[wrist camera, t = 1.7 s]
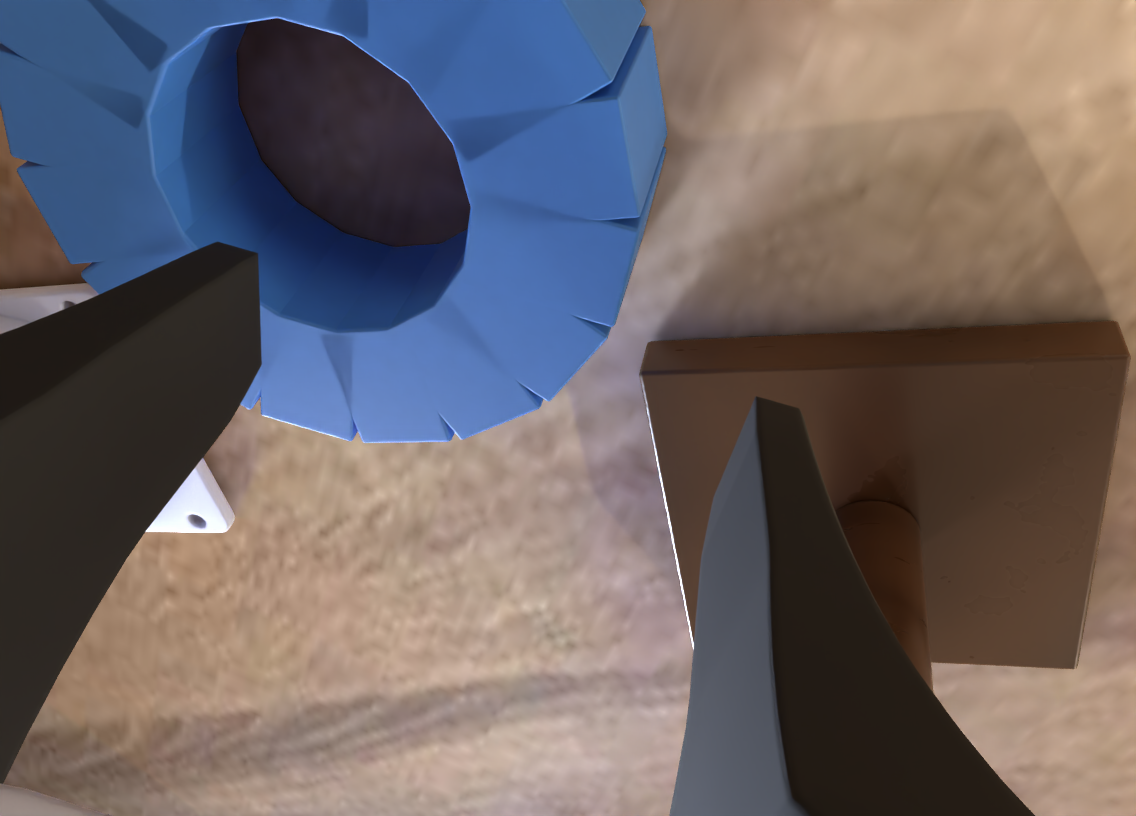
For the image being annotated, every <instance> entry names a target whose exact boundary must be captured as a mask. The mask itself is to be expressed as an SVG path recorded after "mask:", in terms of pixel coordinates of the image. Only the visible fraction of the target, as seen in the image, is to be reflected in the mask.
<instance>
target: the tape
mask: <svg viewBox="0 0 1136 816" xmlns="http://www.w3.org/2000/svg"><path fill="white" fill-rule="evenodd" d="M645 13H646V11H645V8H644V7H643V5H642V3H641V1H640V0H0V107H1V111H2V116H3V121H4V125H5V130H6V135H7V139H8V144H9V149H10V153H11V155H12V156H13V157H16V158H19V159H23V160H27V162H26V163H24V164H23V165H21V166H20V167H18V168H17V172H18V174H19V176H20V177H21V179H22V181H23V183H24V184H25V186H26V188H27V190H28V191H29V193H30V195H31V197H32V198H33V200H34V202H35V204H36V205H37V207H38V209H39V210H40V212H41V214H42V216H43V217H44V219H45V221H46V223H47V224H48V226H49V228H50V230H51V231H52V233H53V235H54V237H55V238H56V240H57V242H58V243H59V245H60V247H61V249H62V250H63V252H64V254H65V256H66V257H67V259H68V261H69V262H70V263H71V264H79V263H91V262H92V263H91V264H90V265H89V266H88V267H86V268H85V269H84V270H83V271H82V273H81V276H82V278H83V279H84V280H85V281H86V282H87V283H88V284H89V285H90V286H91V287H92V288H93V289H94V290H95V291H96V292H97V293H98V294H102V293H104V292H106V291H108V290H110V289H113V288H115V287H117V286H119V285H121V284H124V283H126V282H128V281H130V280H132V279H135V278H137V277H139V276H141V275H143V274H146V273H148V272H150V271H152V270H154V269H156V268H158V267H161V266H163V265H165V264H167V263H169V262H171V261H173V260H176V259H178V258H180V257H182V256H184V255H186V254H189V253H191V252H193V251H195V250H198V249H200V248H202V247H205V246H207V245H210V244H212V243H215V242H217V241H218V242H221V243H225V244H228V245H232V246H235V247H239V248H242V249H246V250H249V251H253V252H256V253H258V264H259V295H260V325H261V356H262V365H261V367H260V369H259V371H258V373H257V374H256V376H255V378H254V380H253V382H252V384H251V386H250V387H249V389H248V391H247V393H246V395H245V397H244V398H243V400H242V402H241V405H242V406H244V407H246V408H247V409H251V408H253V406H254V405H255V404H256V402H257V401H258V400H259V398H260V397H261V414H262V415H263V416H266V417H269V418H273V419H276V420H280V421H283V422H286V423H290V424H293V425H297V426H300V427H303V428H307V429H310V430H314V431H317V432H321V433H324V434H327V435H331V436H334V437H338V438H341V439H344V440H348V441H352V440H353V438H354V436H355V435H356V433H357V431H358V432H359V435H360V437H361V439H362V441H363V442H364V443H387V442H448V441H451V440H452V437H453V435H454V433H456V434H457V435H458V436H459V438H460V439H465V438H467V437H470V436H472V435H475V434H477V433H480V432H482V431H485V430H487V429H490V428H492V427H495V426H497V425H500V424H502V423H504V422H507V421H509V420H512V419H514V418H517V417H519V416H522V415H524V414H527V413H529V412H532V411H534V410H537V409H539V408H540V407H541V404H542V401H543V399H545V400H546V401H550V400H552V398H553V397H554V396H555V395H556V394H557V393H558V392H559V391H560V390H561V389H562V388H563V386H564V385H565V384H566V383H567V382H568V381H569V380H570V379H571V378H572V377H573V375H574V374H575V373H576V372H577V371H578V370H579V369H580V368H581V367H582V366H583V364H584V363H585V362H586V361H587V360H588V359H589V358H590V357H591V356H592V355H593V354H594V352H595V351H596V350H597V349H598V348H599V347H600V346H601V345H602V344H603V343H604V341H605V340H606V339H607V338H608V335H609V332H610V329H611V327H613V326H614V325H615V323H616V320H617V316H618V313H619V310H620V307H621V304H622V301H623V297H624V294H625V291H626V288H627V285H628V282H629V278H630V275H631V272H632V269H633V266H634V263H635V259H636V256H637V253H638V250H639V247H640V244H641V240H642V237H643V234H644V230H645V226H646V223H647V219H648V215H649V212H650V208H651V204H652V201H653V197H654V194H655V190H656V186H657V183H658V179H659V175H660V172H661V168H662V164H663V161H664V157H665V153H666V148H665V147H663V145H664V142H665V139H666V136H667V128H666V121H665V114H664V107H663V101H662V94H661V87H660V80H659V73H658V67H657V60H656V53H655V46H654V40H653V33H652V28H651V26H643V27H639V25H640V23H641V21H642V19H643V17H644V15H645ZM274 18H278V19H282V20H286V21H289V22H293V23H297V24H300V25H304V26H308V27H311V28H315V29H319V30H322V31H326V32H330V33H333V34H337V35H340V36H344V37H345V38H346V39H348V40H349V41H351V42H352V43H353V44H355V45H356V46H358V47H359V48H360V49H362V50H363V51H365V52H366V53H367V54H369V55H370V56H372V57H373V58H375V59H376V60H377V61H379V62H380V63H382V64H383V65H384V66H386V67H387V68H389V69H390V70H391V71H393V72H394V73H396V74H397V75H398V76H400V77H401V78H403V79H404V80H405V81H407V82H408V83H409V84H410V86H411V87H412V88H413V90H414V91H415V93H416V94H417V95H418V97H419V98H420V99H421V101H422V102H423V104H424V105H425V106H426V108H427V109H428V110H429V112H430V113H431V115H432V116H433V117H434V119H435V120H436V121H437V123H438V124H439V126H440V127H441V128H442V130H443V131H444V133H445V134H446V135H447V137H448V138H449V139H450V141H451V142H452V144H453V147H454V150H455V154H456V157H457V161H458V164H459V168H460V171H461V175H462V178H463V182H464V185H465V189H466V192H467V196H468V199H469V203H470V206H471V208H470V216H469V223H468V229H466V230H465V231H463V232H461V233H459V234H457V235H455V236H454V237H452V238H450V239H448V240H446V241H444V242H443V243H441V244H428V245H415V246H403V247H392V246H389V245H385V244H382V243H378V242H375V241H371V240H367V239H364V238H360V237H357V236H353V235H350V234H346V233H343V232H342V231H340V230H339V229H337V228H335V227H334V226H332V225H331V224H329V223H328V222H326V221H325V220H323V219H322V218H320V217H319V216H317V215H316V214H314V213H313V212H311V211H310V210H308V209H307V208H305V207H304V206H302V205H301V204H299V203H298V202H296V201H295V200H294V198H293V197H292V196H291V195H290V194H289V192H288V191H287V190H286V189H285V188H284V186H283V185H282V184H281V183H280V182H279V180H278V179H277V178H276V177H275V176H274V174H273V173H272V172H271V171H270V170H269V168H268V167H267V166H266V165H265V164H264V162H263V161H262V160H261V158H260V155H259V153H258V150H257V148H256V145H255V143H254V141H253V138H252V136H251V133H250V131H249V128H248V126H247V124H246V121H245V119H244V116H243V114H242V112H241V109H240V107H239V100H238V76H237V52H236V51H237V48H238V46H239V43H240V41H241V39H242V36H243V34H244V31H245V29H246V26H247V24H248V23H249V22H256V21H262V20H268V19H274Z"/></svg>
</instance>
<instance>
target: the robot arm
mask: <svg viewBox="0 0 1136 816" xmlns="http://www.w3.org/2000/svg"><path fill="white" fill-rule="evenodd" d="M74 303H75V304H76V305H75V304H74ZM261 365H262V356H261V325H260V295H259V264H258V253H256V252H253V251H249V250H246V249H242V248H239V247H235V246H232V245H228V244H225V243H221V242H218V241H217V242H215V243H212V244H210V245H207V246H205V247H202V248H200V249H198V250H195V251H193V252H191V253H189V254H186V255H184V256H182V257H180V258H178V259H176V260H173V261H171V262H169V263H167V264H165V265H163V266H161V267H158V268H156V269H154V270H152V271H150V272H148V273H146V274H143V275H141V276H139V277H137V278H135V279H132V280H130V281H128V282H126V283H124V284H121V285H119V286H117V287H115V288H113V289H110V290H108V291H106V292H104V293H102V294H98V293H97V292H96V291H95V290H94V289H93V288H92V287H91V286H90V285H89V284H88V283H81V284H68V285H55V286H41V287H28V288H15V289H2V290H0V816H112V815H109V814H105V813H102V812H99V811H96V810H93V809H90V808H86V807H83V806H80V805H77V804H74V803H71V802H67V801H64V800H61V799H58V798H55V797H52V796H48V795H45V794H42V793H39V792H36V791H33V790H29V789H26V788H22V787H17V786H11V785H6V784H3V782H4V780H5V778H6V776H7V774H8V772H9V770H10V768H11V766H12V764H13V762H14V760H15V758H16V756H17V754H18V752H19V750H20V748H21V746H22V744H23V742H24V740H25V738H26V736H27V734H28V732H29V730H30V728H31V726H32V724H33V722H34V720H35V719H36V717H37V715H38V713H39V711H40V709H41V707H42V705H43V703H44V702H45V700H46V698H47V696H48V694H49V692H50V690H51V688H52V686H53V685H54V683H55V681H56V679H57V677H58V675H59V673H60V671H61V669H62V668H63V666H64V664H65V662H66V661H67V659H68V657H69V655H70V654H71V652H72V650H73V648H74V647H75V645H76V643H77V641H78V640H79V638H80V636H81V634H82V633H83V631H84V629H85V627H86V626H87V624H88V622H89V620H90V619H91V617H92V615H93V613H94V612H95V610H96V608H97V607H98V605H99V603H100V602H101V600H102V598H103V597H104V595H105V593H106V592H107V590H108V588H109V587H110V585H111V583H112V582H113V580H114V579H115V577H116V575H117V574H118V572H119V570H120V569H121V567H122V565H123V564H124V562H125V560H126V559H127V557H128V556H129V554H130V553H131V552H132V550H133V549H134V547H135V546H136V544H137V543H138V542H139V540H140V539H141V537H142V536H143V534H144V533H145V532H146V531H147V532H215V533H221V532H226V531H227V530H228V529H229V528H230V527H231V525H232V524H233V522H234V520H235V516H234V512H233V511H232V509H231V507H230V505H229V503H228V502H227V500H226V498H225V496H224V494H223V493H222V491H221V489H220V487H219V486H218V484H217V482H216V480H215V478H214V477H213V475H212V473H211V471H210V469H209V468H208V466H207V464H206V462H205V460H204V459H203V457H204V455H205V454H206V453H207V451H208V450H209V449H210V447H211V446H212V445H213V443H214V442H215V441H216V439H217V438H218V437H219V436H220V434H221V433H222V431H223V430H224V429H225V427H226V426H227V425H228V423H229V422H230V421H231V419H232V417H233V416H234V414H235V412H236V410H237V409H238V407H239V405H240V404H241V402H242V400H243V398H244V397H245V395H246V393H247V391H248V389H249V387H250V386H251V384H252V382H253V380H254V378H255V376H256V374H257V373H258V371H259V369H260V367H261ZM669 816H1035V815H1034V814H1033V813H1032V812H1031V811H1030V810H1029V809H1028V808H1027V807H1026V806H1025V804H1024V803H1023V802H1022V801H1021V800H1020V799H1019V798H1018V797H1017V796H1016V795H1015V794H1014V793H1013V792H1012V791H1011V789H1010V788H1009V787H1008V786H1007V785H1006V784H1005V783H1004V782H1003V781H1002V780H1001V779H1000V777H999V776H998V775H997V774H996V773H995V772H994V770H993V769H992V768H991V767H990V765H989V764H988V763H987V762H986V761H985V759H984V758H983V757H982V756H981V755H980V753H979V752H978V751H977V750H976V748H975V747H974V746H973V745H972V744H971V742H970V741H969V740H968V739H967V738H966V736H965V735H964V734H963V733H962V731H961V730H960V729H959V727H958V726H957V725H956V723H955V722H954V721H953V719H952V718H951V717H950V716H949V714H948V713H947V712H946V710H945V709H944V707H943V706H942V704H941V703H940V702H939V700H938V699H937V697H936V696H935V695H934V693H933V692H932V690H931V689H930V688H929V686H928V685H927V683H926V682H925V680H924V679H923V678H922V676H921V675H920V673H919V672H918V671H917V669H916V668H915V666H914V665H913V663H912V662H911V660H910V659H909V657H908V655H907V654H906V652H905V651H904V649H903V647H902V646H901V644H900V643H899V641H898V639H897V638H896V636H895V634H894V632H893V631H892V629H891V627H890V625H889V624H888V622H887V620H886V619H885V617H884V615H883V613H882V611H881V610H880V608H879V606H878V604H877V602H876V600H875V598H874V596H873V594H872V592H871V591H870V589H869V587H868V585H867V583H866V581H865V578H864V576H863V574H862V572H861V570H860V568H859V566H858V564H857V562H856V560H855V557H854V555H853V553H852V551H851V549H850V546H849V544H848V542H847V539H846V537H845V535H844V532H843V530H842V527H841V525H840V522H839V520H838V517H837V515H836V512H835V510H834V507H833V505H832V502H831V500H830V497H829V494H828V492H827V489H826V486H825V483H824V481H823V478H822V475H821V472H820V469H819V466H818V463H817V460H816V457H815V454H814V451H813V447H812V444H811V441H810V437H809V434H808V430H807V427H806V423H805V420H804V416H803V415H802V413H801V411H800V409H799V408H796V407H793V406H789V405H786V404H782V403H779V402H775V401H772V400H768V399H765V398H761V397H758V396H756V397H755V399H754V401H753V404H752V406H751V409H750V411H749V413H748V416H747V418H746V421H745V423H744V425H743V428H742V430H741V433H740V435H739V437H738V440H737V442H736V445H735V447H734V449H733V452H732V454H731V457H730V459H729V461H728V464H727V466H726V469H725V471H724V473H723V476H722V478H721V481H720V483H719V485H718V488H717V490H716V493H715V495H714V498H713V503H712V508H711V512H710V517H709V522H708V526H707V531H706V536H705V541H704V546H703V551H702V556H701V564H700V575H699V587H698V599H697V612H696V624H695V637H694V650H693V663H692V675H691V688H690V699H689V707H688V715H687V723H686V730H685V735H684V741H683V746H682V752H681V757H680V762H679V768H678V773H677V779H676V784H675V790H674V795H673V800H672V805H671V810H670V815H669Z"/></svg>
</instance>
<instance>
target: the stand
mask: <svg viewBox="0 0 1136 816" xmlns="http://www.w3.org/2000/svg"><path fill="white" fill-rule="evenodd" d="M1130 359H1131V356H1130V353H1129V351H1128V348H1127V345H1126V343H1125V340H1124V337H1123V335H1122V332H1121V329H1120V327H1119V324H1118V322H1116V321H1095V322H1072V323H1050V324H1028V325H1006V326H983V327H961V328H939V329H917V330H894V331H872V332H850V333H828V334H805V335H783V336H761V337H739V338H716V339H694V340H672V341H651V342H648V344H647V347H646V351H645V354H644V358H643V362H642V366H641V370H640V373H639V376H640V381H641V386H642V391H643V396H644V401H645V406H646V411H647V416H648V422H649V427H650V432H651V437H652V442H653V447H654V452H655V457H656V463H657V468H658V473H659V478H660V483H661V488H662V493H663V498H664V503H665V509H666V514H667V519H668V524H669V529H670V534H671V539H672V544H673V550H674V555H675V560H676V565H677V570H678V575H679V580H680V585H681V590H682V596H683V601H684V606H685V611H686V616H687V621H688V626H689V631H690V637H691V642H692V647H693V649H694V637H695V624H696V612H697V599H698V587H699V575H700V564H701V556H702V551H703V546H704V541H705V536H706V531H707V526H708V522H709V517H710V512H711V508H712V503H713V498H714V495H715V493H716V490H717V488H718V485H719V483H720V481H721V478H722V476H723V473H724V471H725V469H726V466H727V464H728V461H729V459H730V457H731V454H732V452H733V449H734V447H735V445H736V442H737V440H738V437H739V435H740V433H741V430H742V428H743V425H744V423H745V421H746V418H747V416H748V413H749V411H750V409H751V406H752V404H753V401H754V399H755V397H756V396H758V397H761V398H765V399H768V400H772V401H775V402H779V403H782V404H786V405H789V406H793V407H796V408H799V409H800V411H801V413H802V415H803V416H804V420H805V423H806V427H807V430H808V434H809V437H810V441H811V444H812V447H813V451H814V454H815V457H816V460H817V463H818V466H819V469H820V472H821V475H822V478H823V481H824V483H825V486H826V489H827V492H828V494H829V497H830V500H831V502H832V505H833V507H834V510H835V512H836V515H837V517H838V520H839V522H840V525H841V527H842V530H843V532H844V535H845V537H846V539H847V542H848V544H849V546H850V549H851V551H852V553H853V555H854V557H855V560H856V562H857V564H858V566H859V568H860V570H861V572H862V574H863V576H864V578H865V581H866V583H867V585H868V587H869V589H870V591H871V592H872V594H873V596H874V598H875V600H876V602H877V604H878V606H879V608H880V610H881V611H882V613H883V615H884V617H885V619H886V620H887V622H888V624H889V625H890V627H891V629H892V631H893V632H894V634H895V636H896V638H897V639H898V641H899V643H900V644H901V646H902V647H903V649H904V651H905V652H906V654H907V655H908V657H909V659H910V660H911V662H912V663H913V665H914V666H915V668H916V669H917V671H918V672H919V673H920V675H921V676H922V678H923V679H924V680H925V682H926V683H927V685H928V686H929V688H930V689H931V690H932V692H933V682H932V669H931V662H933V663H954V664H975V665H995V666H1016V667H1037V668H1058V669H1076V668H1077V666H1078V661H1079V655H1080V650H1081V644H1082V638H1083V632H1084V626H1085V621H1086V615H1087V609H1088V603H1089V597H1090V592H1091V586H1092V580H1093V574H1094V568H1095V563H1096V557H1097V551H1098V545H1099V539H1100V534H1101V528H1102V522H1103V516H1104V510H1105V505H1106V499H1107V493H1108V487H1109V481H1110V475H1111V470H1112V464H1113V458H1114V452H1115V446H1116V441H1117V435H1118V429H1119V423H1120V417H1121V412H1122V406H1123V400H1124V394H1125V388H1126V383H1127V377H1128V371H1129V365H1130Z"/></svg>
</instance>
